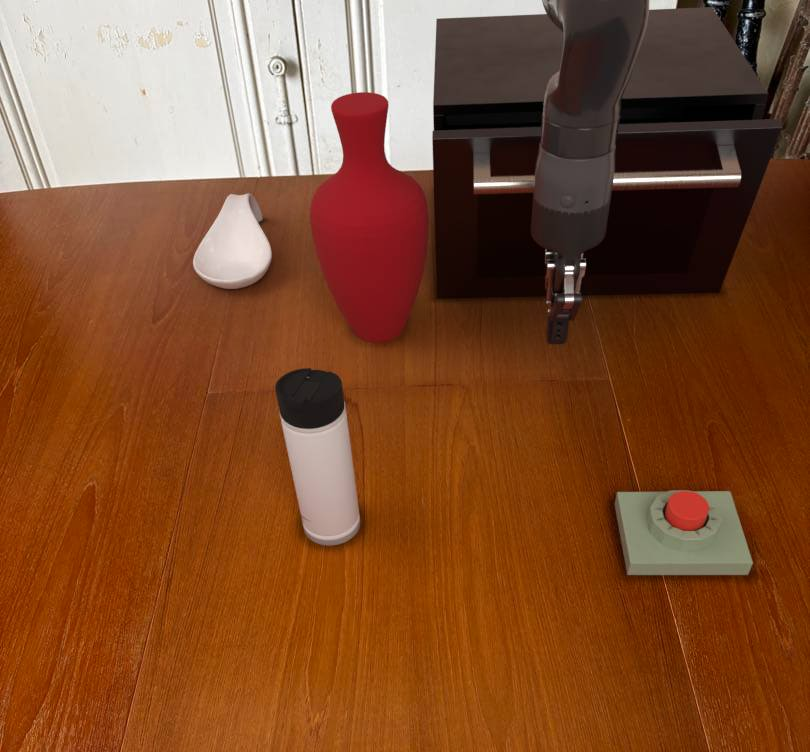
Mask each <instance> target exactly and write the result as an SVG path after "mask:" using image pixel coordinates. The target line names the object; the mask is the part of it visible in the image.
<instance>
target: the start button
mask: <svg viewBox="0 0 810 752" xmlns="http://www.w3.org/2000/svg"><path fill="white" fill-rule="evenodd" d="M690 491H691V490H690ZM690 491H680V492H677V493H674V494H673V495H672V496H671V497H670V498H669V500H668V504H667V507H666V511H665V517H666V519H667V521H668V522H669V523H670V524H671V525H672V526H673V527H675V528H678V529H680V530H684V531H693V530H697V529H699V528H701V527H702V526H703V525H704V523H705V521H706V518H707V515H708V512H709V504H708V502H707V501H706V499H705V498H704V497H702V496H701V495H699V494H697V493H694V492H690Z"/></svg>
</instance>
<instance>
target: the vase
mask: <svg viewBox="0 0 810 752" xmlns="http://www.w3.org/2000/svg"><path fill="white" fill-rule="evenodd" d="M330 111H331V114H332V116H333V120H334V123H335V126H336V130H337V133H338V136H339V140H340V144H341V150H342V163H341V166H340V167H339V169H338V170H337V171H336V172H335V173H334V174H333V175H331V176H330V177H328V178H327V179H326V180H325V181H323V182H322V183H320V185H319V186H318V187H317V188H316V191H315V192H314V194H313V196H312V197H311V198H312V199H311V202H310V209H309V219H310V220H309V221H310V230H311V231H310V232H311V236H312V240H313V241H312V242H313V246H314V249H315V253H316V256H317V259H318V263H319V265H320V268H321V271H322V274H323V277H324V279H325V282H326V285H327V287H328V289H329V292H330V294H331V296H332V298H333V301H334V302H335V304H336V306H337V307H338V310H339V311H340V313H341V314H342V316H343V318H344V320H345V321H346V322H347V324H348V326H349V327H350V328H351V330H352V332H353V333H354V335H355V336H356V337H357V338H358V339H360V340H362V341H364V342H367V343H372V344H379V343H386V342H390V341H392V340H394V339H397V337H399V336H400V335H401V334H402V333H403V331H404V329H405V326H406V324H407V322H408V320H409V317H410V315H411V312H412V310H413V307H414V305H415V302H416V299H417V296H418V293H419V290H420V287H421V282H422V278H423V273H424V268H425V265H426V264H425V263H426V258H427V251H428V243H429V242H428V240H429V226H430V225H429V221H430V219H429V209H428V208H429V207H428V200H427V197H426V194H425V192H424V190H423V188H422V187H421V185H420V184H419V183H418V181H417V180H416V179H414V178H413V177H412V176H410V175H408V174H407V173H405V172H403V171H402V170H399V169H397V168H395V167H393V166H392V165H391V164H390V162H389V161H388V160H387V156H386V155H387V154H386V152H385V137H386V129H387V120H388V112H389V100H388V99H387V97H386V96H384V95H382V94H379V93H375V92H368V91H361V92H352V93H347V94H344V95H341V96H339V97H337V98H335V99H334V100H333V101H332V103H331V105H330Z"/></svg>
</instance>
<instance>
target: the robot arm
mask: <svg viewBox="0 0 810 752" xmlns="http://www.w3.org/2000/svg"><path fill="white" fill-rule="evenodd" d="M541 1H542V2H541V3H542V5H543V8H544V11H545V14H547V15H548V17H549V18H550V20H551V21H552V22H553V23H554V24H555V25H556V26H557V27H558V28H559V29H560V30H561V31H562V32H563V33H564V44H563V53H562V60H561V65H560V70H559V72H557V73H556V74H555V75H553V76H552V77H551V79H550V80H549V82H548V84H547V87H546V89H545V94H544V100H543V109H542V123H541V136H540V146H539V151H538V156H537V161H536V167H535V178H534V192H533V205H532V218H531V235H532V237H533V239H534V240H535V242H536V243H538V244H539V245H540V246H542V247H544V248H545V251H544V260H545V264H546V268H545V280H544V282H545V290H546V296H547V297H546V301H545V304H546V307H547V319H546V328H545V329H546V330H545V339H546V343H547V344H548V345H564V344H566V343H567V339H568V333H569V325H570V322H573V321H575V319H576V317H577V315H578V312H579V310H580V308H581V306H582V302H583V299H584V298H583V297H584V296H582V294H581V293H580V287H581V280H582V278H583V277H584V275H585V270H586V259H583V253H584V252H585V251H587V250H589V249H592V248H594V247H596V246H597V245H598V244H600V243H601V242H602V240H603V239H604V237H605V234H606V227H607V221H608V214H609V207H610V200H611V194H612V187H613V180H614V173H615V149H616V141H617V134H618V127H619V120H620V113H621V103H622V96H623V94H624V91H625V89H626V86H627V84H628V82H629V79H630V77H631V74H632V71H633V68H634V65H635V62H636V59H637V56H638V53H639V51H640V48H641V45H642V42H643V38H644V35H645V31H646V27H647V21H648V15H649V10H650V0H541Z"/></svg>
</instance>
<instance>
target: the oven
mask: <svg viewBox="0 0 810 752" xmlns="http://www.w3.org/2000/svg"><path fill="white" fill-rule="evenodd" d="M435 19H436V20H435V21H436V22H435V48H434V73H433V74H434V76H433V101H432V114H433V116H432V117H433V118H432V119H433V131H438V130H468V129H498V128H527V127H541V123H542V109H543V100H544V94H545V89H546V87H547V84H548V82H549V80H550V79H551V77H552V76H553V75H555V74H556V73H557V72H559V70H560V65H561V60H562V53H563V44H564V33H563V32H562V31H561V30H560V29H559V28H558V27H557V26H556V25H555V24H554V23H553V22H552V21H551V20H550V18H549V17H548V15H547V13H538V14H516V15H492V16H491V15H489V16H488V15H487V16H468V17H467V16H466V17H465V16H464V17H442V18H435ZM768 97H769V92H768V90H767V88H765V86H764V84H763V83H762V81H761V80H760V78H759V77H758V75H757V74H756V72H755V70H754V69H753V67H752V66H751V65H750V63H749V62H748V60H747V58H746V57H745V56H744V54H743V52H742V50H741V49H740V47H739V46H738V45H737V43H736V42H735V40H734V38H733V37H732V35H731V34H730V32H729V31H728V29H727V28H726V26H725V25H724V23H723V21H722V20H721V18H720V17H719V15H718V14H717V13H716V11H715V9H714V8H713V6H705V7H703V6H702V7H681V8H659V9H658V8H657V9H655V8H654V9H649V15H648V21H647V27H646V31H645V35H644V38H643V42H642V45H641V48H640V51H639V53H638V56H637V59H636V62H635V65H634V68H633V71H632V74H631V77H630V79H629V82H628V84H627V86H626V89H625V91H624V94H623V96H622V103H621V113H620V120H619V124H646V123H676V122H706V121H735V120H763V119H762V118H763V115H764V111H765V107H766V104H767V99H768Z"/></svg>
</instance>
